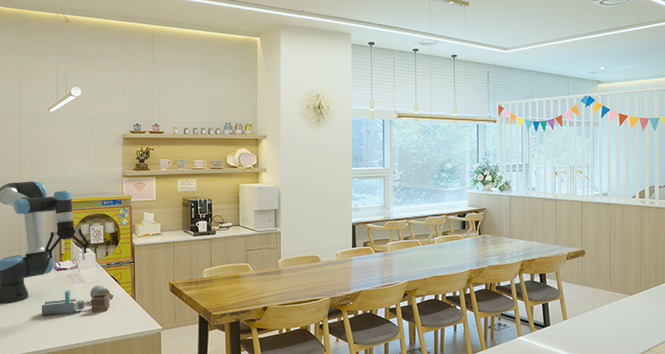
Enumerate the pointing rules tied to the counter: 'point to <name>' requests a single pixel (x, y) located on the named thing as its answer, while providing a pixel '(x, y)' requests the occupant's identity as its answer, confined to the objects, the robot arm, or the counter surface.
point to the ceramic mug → (100, 291)
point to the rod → (77, 304)
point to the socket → (100, 303)
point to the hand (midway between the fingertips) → (69, 262)
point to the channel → (58, 308)
